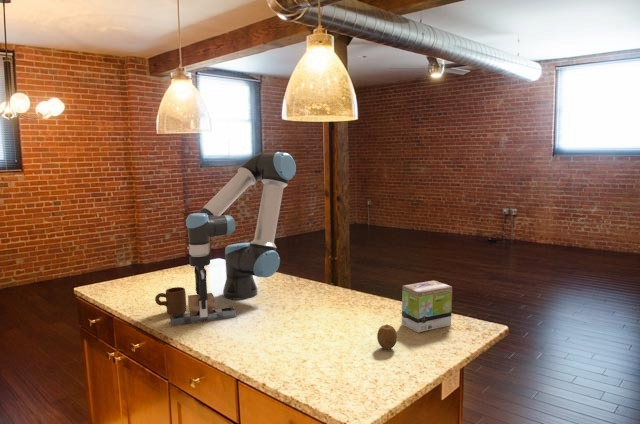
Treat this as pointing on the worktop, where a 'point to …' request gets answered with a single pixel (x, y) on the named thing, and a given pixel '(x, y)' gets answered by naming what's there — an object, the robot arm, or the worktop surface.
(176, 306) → the mug
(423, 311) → the tea box
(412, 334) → the worktop surface
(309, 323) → the worktop surface
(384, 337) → the fruit
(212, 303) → the tan cardboard box
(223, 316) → the rail
